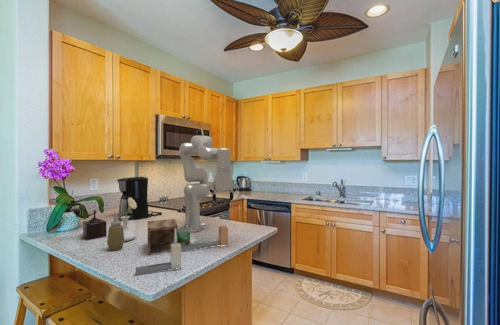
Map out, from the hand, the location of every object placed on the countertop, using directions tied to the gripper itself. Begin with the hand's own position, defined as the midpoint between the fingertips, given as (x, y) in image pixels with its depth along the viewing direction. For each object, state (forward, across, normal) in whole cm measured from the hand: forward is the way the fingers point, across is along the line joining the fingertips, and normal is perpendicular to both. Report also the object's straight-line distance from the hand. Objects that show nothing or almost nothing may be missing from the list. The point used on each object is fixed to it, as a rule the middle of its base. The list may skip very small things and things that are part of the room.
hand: (222, 200), depth 135 cm
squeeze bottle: (+26, +54, -16) cm, 62 cm away
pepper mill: (+26, +71, -44) cm, 88 cm away
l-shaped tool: (+25, +34, +20) cm, 47 cm away
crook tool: (+25, +10, -3) cm, 27 cm away
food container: (+26, +19, -10) cm, 33 cm away
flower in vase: (+26, +50, -31) cm, 64 cm away
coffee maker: (+27, +45, -90) cm, 104 cm away
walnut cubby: (+25, +32, -8) cm, 41 cm away
